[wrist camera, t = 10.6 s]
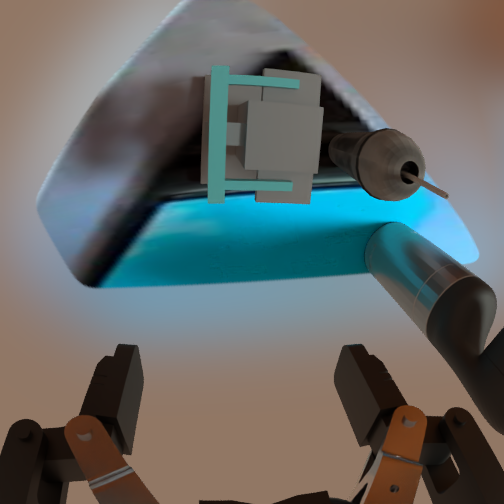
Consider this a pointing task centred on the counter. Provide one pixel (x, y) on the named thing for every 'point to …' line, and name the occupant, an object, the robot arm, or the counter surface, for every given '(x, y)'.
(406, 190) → the beverage cup
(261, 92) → the stand
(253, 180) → the teal c-shaped bracket
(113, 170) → the counter surface
